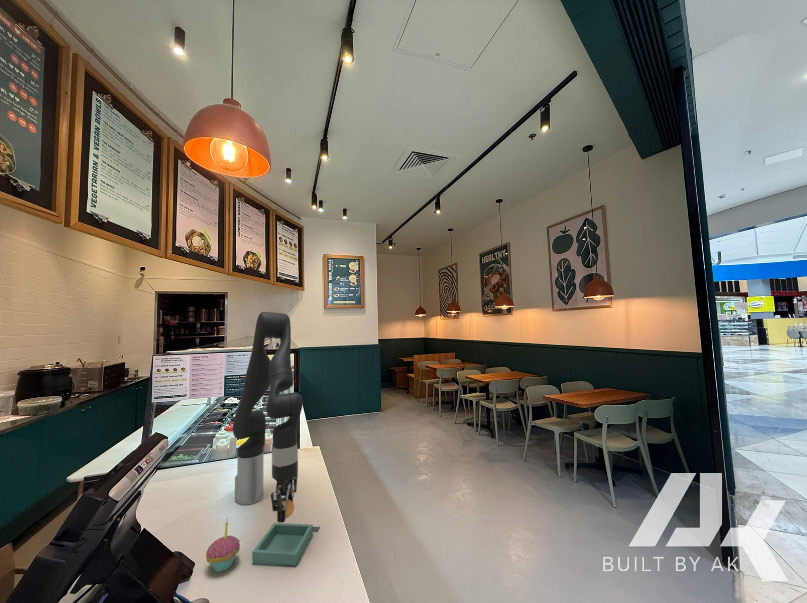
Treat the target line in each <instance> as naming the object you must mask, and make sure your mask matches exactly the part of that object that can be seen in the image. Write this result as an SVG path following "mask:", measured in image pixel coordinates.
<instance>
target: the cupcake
mask: <svg viewBox="0 0 807 603" xmlns="http://www.w3.org/2000/svg"><path fill="white" fill-rule="evenodd" d="M224 525H225V526H224V536H222V537H220V538H217V539H216V540H215V541H213V542H212V543H211V544H210V545H209V546H208V548H207V550H206V551H205V553H206V554H205V555H206V556H205V557H206V563H209V564H211V566H212V568H213V571H214V572H217V573H221V572H224V571H226V570H228V569H229V568H230V567H231V566H232V565H233V562H234V559H235V557H236V555H237V554H238V553H239V552H240V549H241V548H240V547H241V545H240V544H241V543H240V539H238V538H237V537H235V536H233V535H228V527H229V526H228V525H229V521H228V518H226V521H225V524H224Z"/></svg>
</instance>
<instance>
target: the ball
mask: <svg viewBox="0 0 807 603" xmlns="http://www.w3.org/2000/svg"><path fill="white" fill-rule="evenodd" d="M282 505H283V501H282ZM294 511H295V504H294V501H293V502H292V501H291V500H287V501H286V505H285V520H286V519H288V518H289V517H291V516H292V515H293V513H294Z"/></svg>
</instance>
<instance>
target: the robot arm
mask: <svg viewBox="0 0 807 603" xmlns="http://www.w3.org/2000/svg"><path fill="white" fill-rule="evenodd" d="M291 326H292V325H291V319H290V316H289V315H288V314H286V313H281V312H271V311H262V312H260V313H259V315H258V316H257V319H256V324H255V330H254V335H253V343H252V348H251V354H250V357H249V362H248V366H247V368H246V373H245V376H244V382H243V387H242V393H241V396H240V400H239V403H238V406H237V409H236V412H235V415H234V418H233V421H232V433H233V436H234V438H235V439H237V440H243V439H247V440H246V441H244V442H243V443H242V444H240V446H239V447H238V448H237V454H236V455H237V460H236V463H237V464H236V465H237V466H236V467H237V468H236V469H237V472H236V475H235V476H234V502H235V503H238V504H239V505H241V506H247V505H252V504H255V503H258V502H259V501H260V499H261V498H262V499H263V498H264V449H265V448H264V447H265V443H266V430H267V419H266V415H267V416H268V417H269V418H270V419H271V420H272V419H273V420H276V419H277V420H278V419H283V418H288V419H287V420H286V421H284V422H282V423H280V424H278V425H276V426H274V427H273V429H272V451H271V477H272V479H274V481H276V485H275V491H274V492H271V494H270V501H271V508H272V512H276V517H277V519H276V521H277V522H276V523H285V521H286V519H285V505H286V501H287V500H291V501H292V502H293V503H294V498H295V494H296V493H297V488H298V475H299V449H298V425H299V420H300V418H301V414H302V413H301V412H302V410H303V404H304V402H303V398H302V395H301V394H300V393H299V392H287V393H282V392H285V391H287V390H289V389H291V388H292V387H293V384H294V378H293V377H294V376H293V369H292V362H291V349H292V348H291V345H292V343H291V341H292V340H291V338H292V337H291V336H292V335H291V328H292V327H291ZM266 338H269V339H280V342H279V343H280V344H279V345H278V348H277V349H276V351H275V353H274V354H273V356H272V358H271V359H270V357H269V355H268V353H267V350H266V346H265V340H266ZM268 390H269V392H268ZM267 392H268V393H269V394H268V398H267V402H266V405H265V406H266V408H265V411H266V415H265V413H264V411H263V410H261V409H255V410H254V408H255V407H256V405H257V404H258V403H259V401H260V400H261V399H262V398H263V397H264V395H265V394H266V393H267ZM262 499H261V500H262ZM282 501H283V505H282Z"/></svg>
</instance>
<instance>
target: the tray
mask: <svg viewBox="0 0 807 603" xmlns="http://www.w3.org/2000/svg"><path fill="white" fill-rule="evenodd" d="M313 527H314V525H313V524H306V523H303V524H302V523H285V522H283V523H279V522H273V524H272V525H271V526H270V528H269V529H268V531H267V532H266V533H265V535H264V536H263V537H262V538H261V540H260V541H259V542H258V543H257V545H256V547H255V548H254V549H253V550H252V552H251V554H252V556H251V558H252V559H251V561H252V563H251V564H252V565H253V566H254V565H255V566H257V565H258V566H269V567H271V566H272V567H273V566H274V567H289V568H297V566H298V565H299V563H300V561H301V559H302V557H303V555H304V553H305V551H306V550H305V549H307V548H308V546H309V544H310V542H311V541H312V539H313V536H314V532H313ZM309 541H310V542H309ZM308 543H309V544H308ZM307 545H308V546H307ZM306 547H307V548H306Z"/></svg>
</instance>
